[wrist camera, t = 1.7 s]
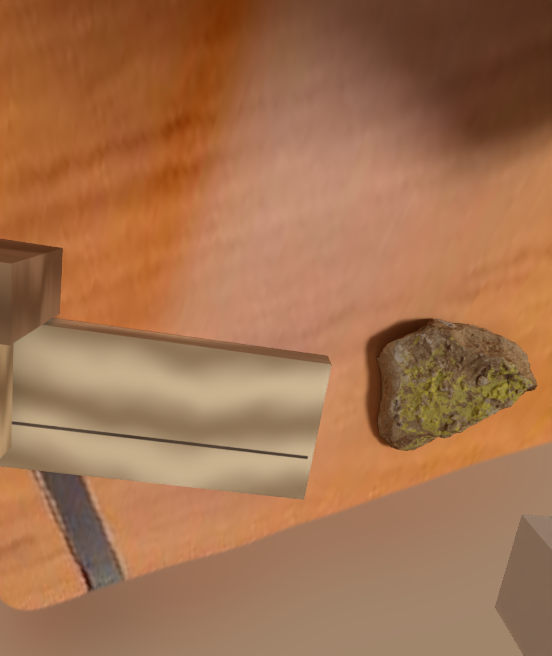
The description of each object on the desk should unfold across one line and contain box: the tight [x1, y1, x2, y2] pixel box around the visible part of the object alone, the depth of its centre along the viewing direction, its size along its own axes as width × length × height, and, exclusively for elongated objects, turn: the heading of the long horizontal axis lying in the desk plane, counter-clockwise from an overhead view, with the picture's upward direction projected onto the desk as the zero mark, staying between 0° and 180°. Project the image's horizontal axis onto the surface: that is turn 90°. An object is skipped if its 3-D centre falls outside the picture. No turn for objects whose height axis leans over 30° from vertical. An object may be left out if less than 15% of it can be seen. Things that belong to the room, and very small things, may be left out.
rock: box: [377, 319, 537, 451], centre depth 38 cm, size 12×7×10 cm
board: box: [0, 318, 332, 500], centre depth 38 cm, size 12×28×2 cm, turn 81°
